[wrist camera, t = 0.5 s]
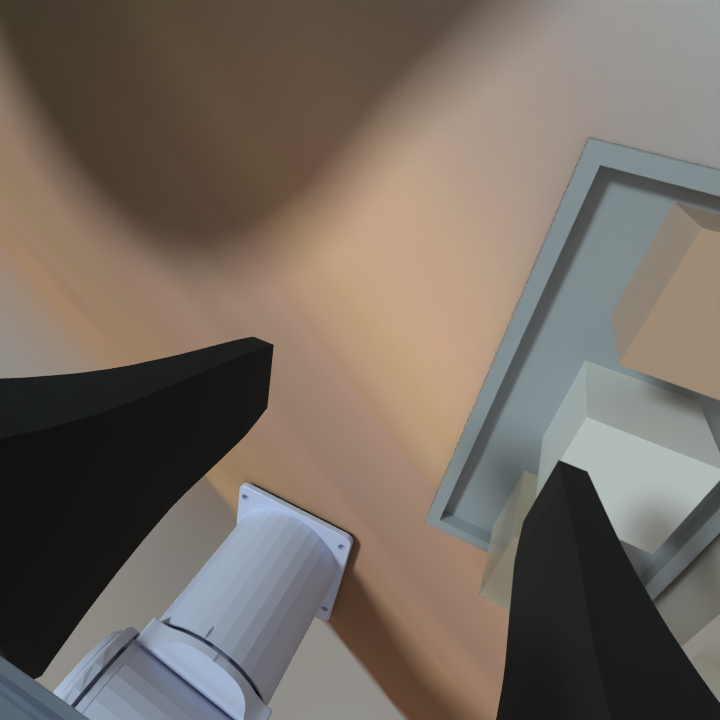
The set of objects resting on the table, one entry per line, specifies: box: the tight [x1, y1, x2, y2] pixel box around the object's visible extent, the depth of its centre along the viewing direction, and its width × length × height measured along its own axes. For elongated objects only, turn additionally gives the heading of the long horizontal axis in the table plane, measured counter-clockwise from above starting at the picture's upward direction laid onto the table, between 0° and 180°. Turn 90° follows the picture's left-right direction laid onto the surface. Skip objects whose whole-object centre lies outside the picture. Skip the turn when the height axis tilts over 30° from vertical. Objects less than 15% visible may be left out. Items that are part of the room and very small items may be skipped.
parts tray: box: [425, 137, 720, 601], centre depth 18 cm, size 18×10×1 cm, turn 166°
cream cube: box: [479, 470, 538, 610], centre depth 20 cm, size 4×4×4 cm
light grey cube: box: [535, 361, 720, 554], centre depth 16 cm, size 4×4×4 cm
